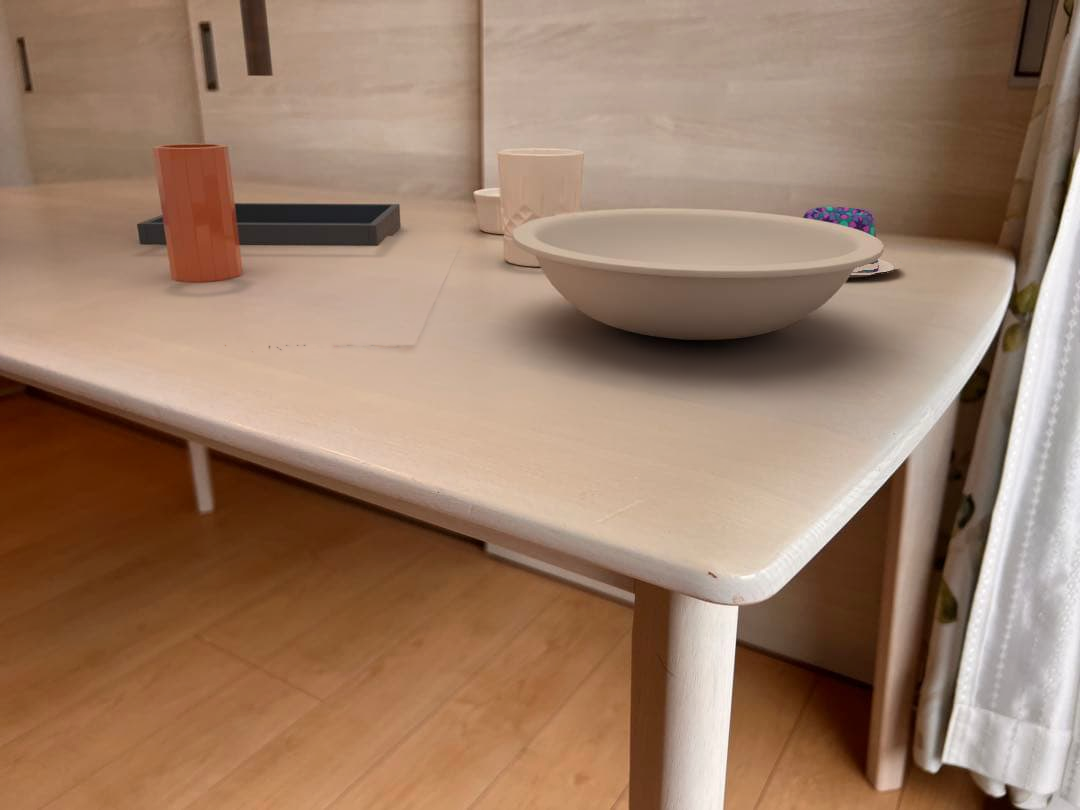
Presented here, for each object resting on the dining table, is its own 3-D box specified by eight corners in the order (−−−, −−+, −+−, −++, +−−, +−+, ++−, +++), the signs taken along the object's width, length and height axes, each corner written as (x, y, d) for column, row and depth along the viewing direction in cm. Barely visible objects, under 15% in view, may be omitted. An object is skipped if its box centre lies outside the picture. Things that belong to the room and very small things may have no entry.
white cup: (484, 264, 80) (483, 152, 76) (518, 250, 87) (517, 147, 83) (564, 271, 77) (566, 156, 73) (592, 256, 84) (595, 150, 80)
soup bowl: (663, 415, 44) (670, 288, 42) (452, 313, 63) (449, 222, 61) (948, 345, 56) (967, 244, 53) (699, 277, 75) (704, 200, 72)
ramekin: (458, 229, 99) (457, 190, 97) (516, 221, 104) (516, 185, 103) (509, 239, 93) (509, 198, 91) (567, 230, 98) (568, 191, 97)
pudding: (741, 259, 83) (746, 204, 81) (846, 253, 86) (853, 200, 84) (815, 286, 72) (823, 223, 70) (932, 277, 76) (942, 217, 74)
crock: (161, 289, 70) (140, 148, 66) (187, 274, 75) (169, 143, 71) (230, 289, 70) (213, 148, 66) (251, 274, 75) (237, 143, 71)
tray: (140, 250, 85) (136, 223, 84) (198, 225, 100) (195, 202, 99) (377, 251, 86) (376, 225, 85) (400, 226, 100) (399, 204, 99)
